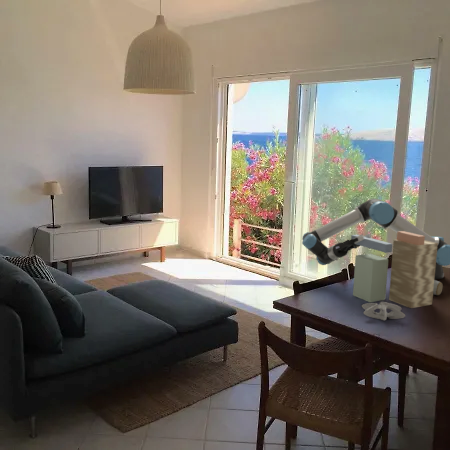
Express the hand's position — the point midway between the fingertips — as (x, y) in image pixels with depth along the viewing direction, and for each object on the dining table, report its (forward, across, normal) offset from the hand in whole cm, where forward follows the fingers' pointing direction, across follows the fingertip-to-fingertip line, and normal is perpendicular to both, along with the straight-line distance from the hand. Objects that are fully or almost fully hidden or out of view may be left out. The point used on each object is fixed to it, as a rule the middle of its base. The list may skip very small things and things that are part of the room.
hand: (366, 236), depth 260 cm
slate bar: (+1, 0, -6) cm, 6 cm away
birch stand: (+1, -14, -35) cm, 38 cm away
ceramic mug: (-4, -36, -32) cm, 48 cm away
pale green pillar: (-11, 0, -28) cm, 30 cm away
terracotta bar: (+16, -10, -9) cm, 21 cm away
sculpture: (+10, +14, -41) cm, 44 cm away
